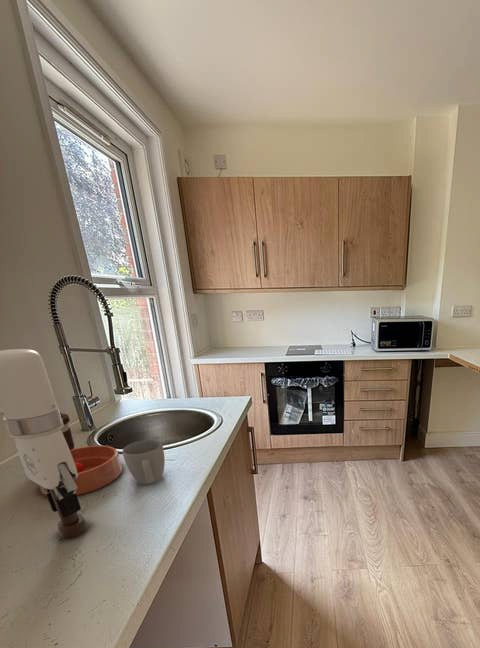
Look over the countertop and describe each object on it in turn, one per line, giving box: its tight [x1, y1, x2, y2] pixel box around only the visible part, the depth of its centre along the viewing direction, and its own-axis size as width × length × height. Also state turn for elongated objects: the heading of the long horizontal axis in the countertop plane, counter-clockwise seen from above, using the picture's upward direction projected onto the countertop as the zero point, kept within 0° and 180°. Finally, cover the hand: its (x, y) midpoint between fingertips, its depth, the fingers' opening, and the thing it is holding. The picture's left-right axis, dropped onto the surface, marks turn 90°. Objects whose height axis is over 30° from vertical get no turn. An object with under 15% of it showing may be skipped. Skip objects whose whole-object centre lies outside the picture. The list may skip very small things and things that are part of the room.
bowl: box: [38, 444, 123, 496], centre depth 88 cm, size 17×17×6 cm
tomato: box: [74, 462, 84, 473], centre depth 90 cm, size 4×4×4 cm
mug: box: [122, 439, 166, 486], centre depth 85 cm, size 12×9×10 cm
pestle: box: [49, 485, 88, 540], centre depth 68 cm, size 4×4×11 cm
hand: (66, 509), depth 67 cm, fingers closed on pestle, 2 cm apart
